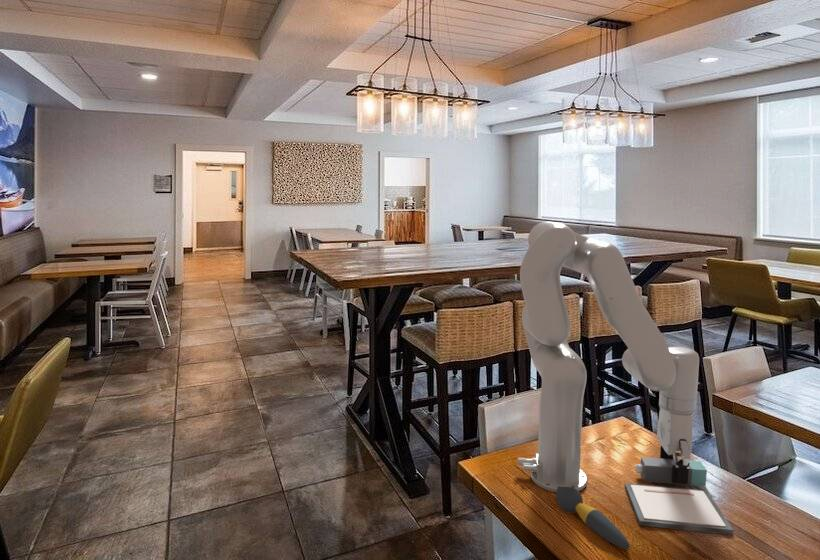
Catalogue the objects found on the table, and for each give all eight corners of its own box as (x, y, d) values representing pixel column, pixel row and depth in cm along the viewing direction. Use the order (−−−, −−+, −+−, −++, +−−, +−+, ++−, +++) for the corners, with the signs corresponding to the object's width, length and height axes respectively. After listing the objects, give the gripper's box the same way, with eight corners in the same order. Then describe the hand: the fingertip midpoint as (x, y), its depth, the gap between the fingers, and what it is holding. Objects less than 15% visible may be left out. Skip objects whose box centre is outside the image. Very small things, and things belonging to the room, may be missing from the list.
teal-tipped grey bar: (637, 480, 119) (638, 464, 118) (634, 471, 123) (634, 456, 122) (705, 486, 116) (706, 470, 116) (699, 477, 120) (700, 461, 120)
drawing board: (639, 525, 103) (640, 519, 103) (624, 487, 116) (625, 482, 116) (732, 534, 99) (733, 528, 99) (706, 494, 113) (706, 489, 113)
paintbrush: (641, 546, 97) (642, 522, 96) (624, 556, 94) (625, 531, 94) (560, 496, 114) (561, 475, 113) (544, 503, 111) (545, 482, 110)
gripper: (649, 387, 126) (646, 453, 128) (671, 416, 109) (666, 491, 112) (683, 388, 124) (678, 455, 127) (709, 418, 107) (704, 494, 110)
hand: (673, 472), depth 119 cm, fingers open, 8 cm apart
